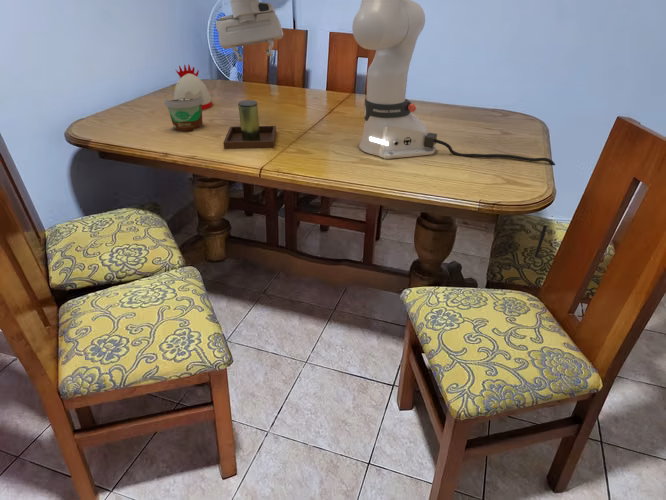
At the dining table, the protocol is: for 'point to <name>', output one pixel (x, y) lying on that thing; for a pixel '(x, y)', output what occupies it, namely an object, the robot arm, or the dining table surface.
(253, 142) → the tray
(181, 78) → the kitchen timer
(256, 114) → the tin canister
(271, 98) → the dining table surface
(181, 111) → the food container
